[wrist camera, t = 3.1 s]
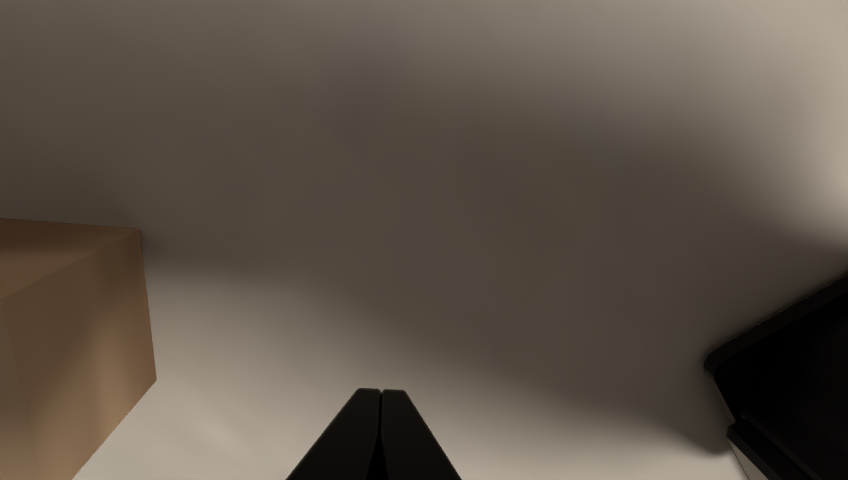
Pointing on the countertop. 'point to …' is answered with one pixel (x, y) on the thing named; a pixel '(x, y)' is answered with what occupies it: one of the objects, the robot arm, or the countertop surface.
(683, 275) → the countertop surface
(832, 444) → the robot arm
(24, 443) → the t block
